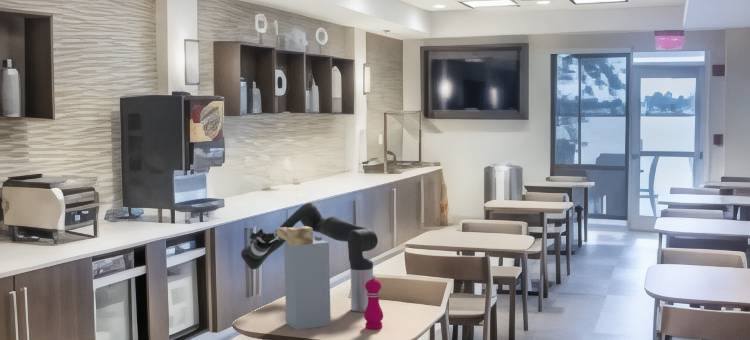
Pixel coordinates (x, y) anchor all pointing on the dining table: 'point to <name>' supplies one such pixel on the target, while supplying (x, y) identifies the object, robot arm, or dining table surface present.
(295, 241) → the t key
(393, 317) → the dining table surface
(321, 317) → the stand
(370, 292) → the pepper mill
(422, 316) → the dining table surface
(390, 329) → the dining table surface
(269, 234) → the robot arm
